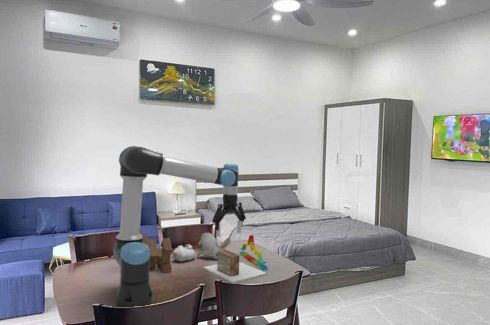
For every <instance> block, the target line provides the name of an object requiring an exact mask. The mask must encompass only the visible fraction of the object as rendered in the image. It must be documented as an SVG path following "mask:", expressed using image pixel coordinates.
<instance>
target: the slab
mask: <svg viewBox="0 0 490 325" xmlns="http://www.w3.org/2000/svg"><path fill="white" fill-rule="evenodd" d="M240 256H241V255H240V254H237V253H234V252H232V251H230V250H227V249H225V250H222V251H218V259H217V264H218V265H217V270H218V271H220V272H222V273H224V274H226V275H229V276H231V277H232V276H236V275H239V262H240Z"/></svg>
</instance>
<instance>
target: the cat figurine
mask: <svg viewBox="0 0 490 325" xmlns="http://www.w3.org/2000/svg"><path fill="white" fill-rule="evenodd" d="M195 256H196V251H195V250H194V249H193V246H192V244H184V246H183V245H178V247H175V249H174V250H173V252H172V254H170V259H174V260H176V261H178V262H180V263H181V262H182V263H183V262H185V261H191V260H192V259H194V258H195Z"/></svg>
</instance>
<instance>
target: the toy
mask: <svg viewBox="0 0 490 325" xmlns="http://www.w3.org/2000/svg"><path fill="white" fill-rule="evenodd" d="M199 239H200V240H199V241H198V243H197V246H198V247H199V248H200V247H201V249H199V250H198V252H197V254H196V258H197V259H198V258H199V257H200V255H202V256H203V257H207V256H208V257H209V256H211V257H212V259H214V260H218V251H222V250H227V248H228V246H229V245H231V244H230V243H231V238H230V237H228V238H226V239H225V240H224V241H223V242H222V243H221V244H220V245H218V241H217V239H216V236H214V234H212V233H211V232H204V233H203V232H202V234H200V238H199Z"/></svg>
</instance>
